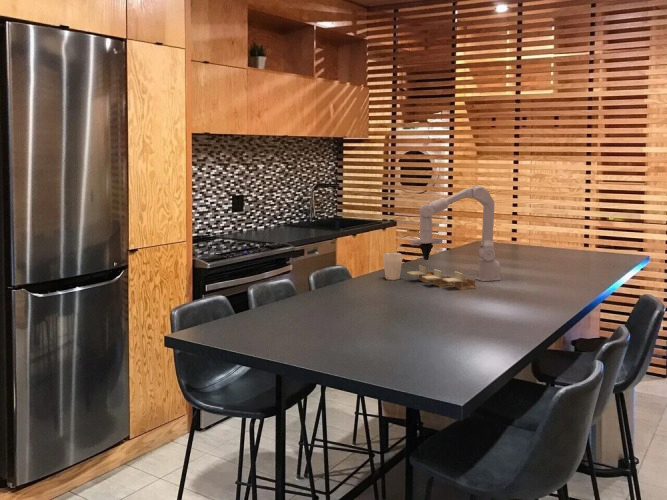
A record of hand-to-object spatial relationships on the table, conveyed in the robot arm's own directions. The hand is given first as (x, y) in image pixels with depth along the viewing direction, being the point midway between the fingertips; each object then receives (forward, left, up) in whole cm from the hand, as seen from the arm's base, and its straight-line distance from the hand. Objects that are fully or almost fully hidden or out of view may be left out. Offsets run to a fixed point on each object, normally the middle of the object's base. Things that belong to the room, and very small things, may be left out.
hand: (426, 259), depth 314 cm
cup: (+13, -10, -10) cm, 19 cm away
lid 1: (+5, 0, -6) cm, 8 cm away
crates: (-5, +11, -10) cm, 16 cm away
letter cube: (-1, 0, -10) cm, 10 cm away
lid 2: (+3, +13, -6) cm, 15 cm away
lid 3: (-3, +22, -6) cm, 23 cm away
